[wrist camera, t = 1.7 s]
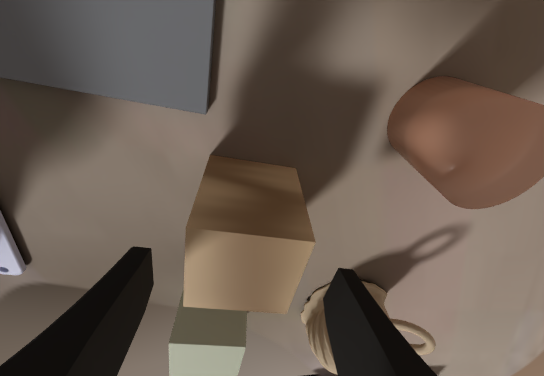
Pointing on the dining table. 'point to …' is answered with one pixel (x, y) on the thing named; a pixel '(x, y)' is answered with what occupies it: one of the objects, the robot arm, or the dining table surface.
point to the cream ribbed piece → (319, 334)
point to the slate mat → (112, 48)
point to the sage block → (207, 341)
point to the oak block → (246, 237)
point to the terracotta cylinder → (469, 140)
